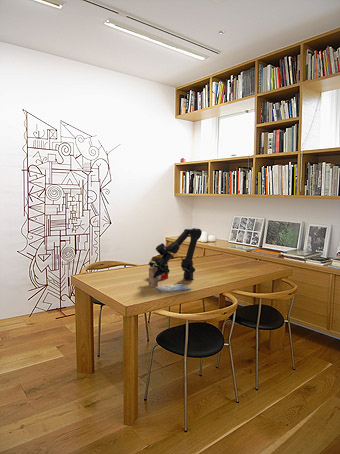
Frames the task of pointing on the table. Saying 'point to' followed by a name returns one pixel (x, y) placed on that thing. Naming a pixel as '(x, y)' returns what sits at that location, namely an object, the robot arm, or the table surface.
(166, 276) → the puzzle toy
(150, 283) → the pillar
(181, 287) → the blueprint board
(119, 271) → the table surface
